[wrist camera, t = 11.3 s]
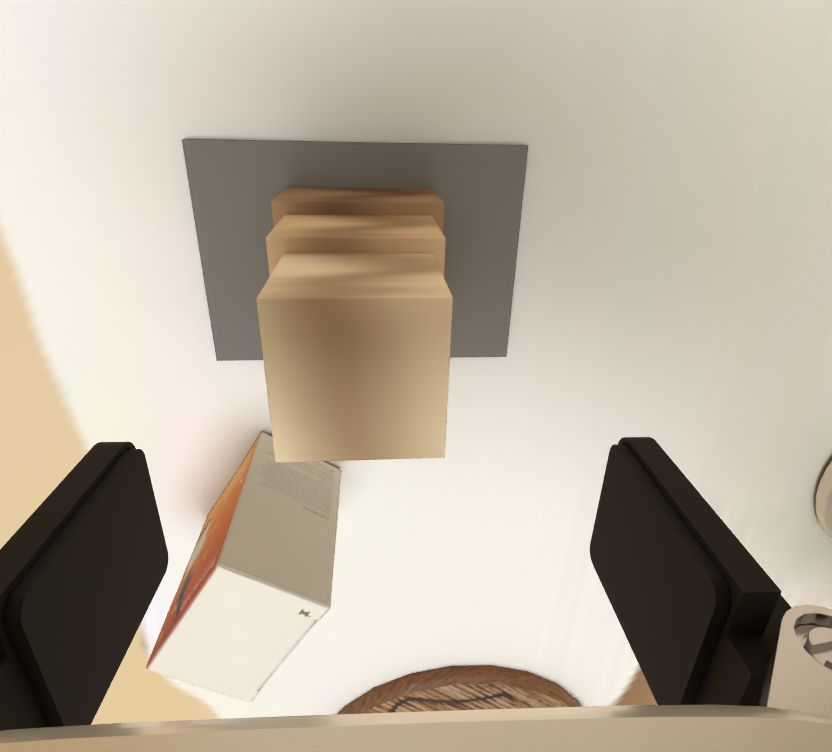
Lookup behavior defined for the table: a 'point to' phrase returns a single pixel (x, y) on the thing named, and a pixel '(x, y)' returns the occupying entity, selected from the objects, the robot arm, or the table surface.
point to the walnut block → (358, 202)
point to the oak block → (355, 235)
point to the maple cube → (356, 355)
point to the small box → (253, 576)
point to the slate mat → (357, 168)
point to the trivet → (462, 691)
